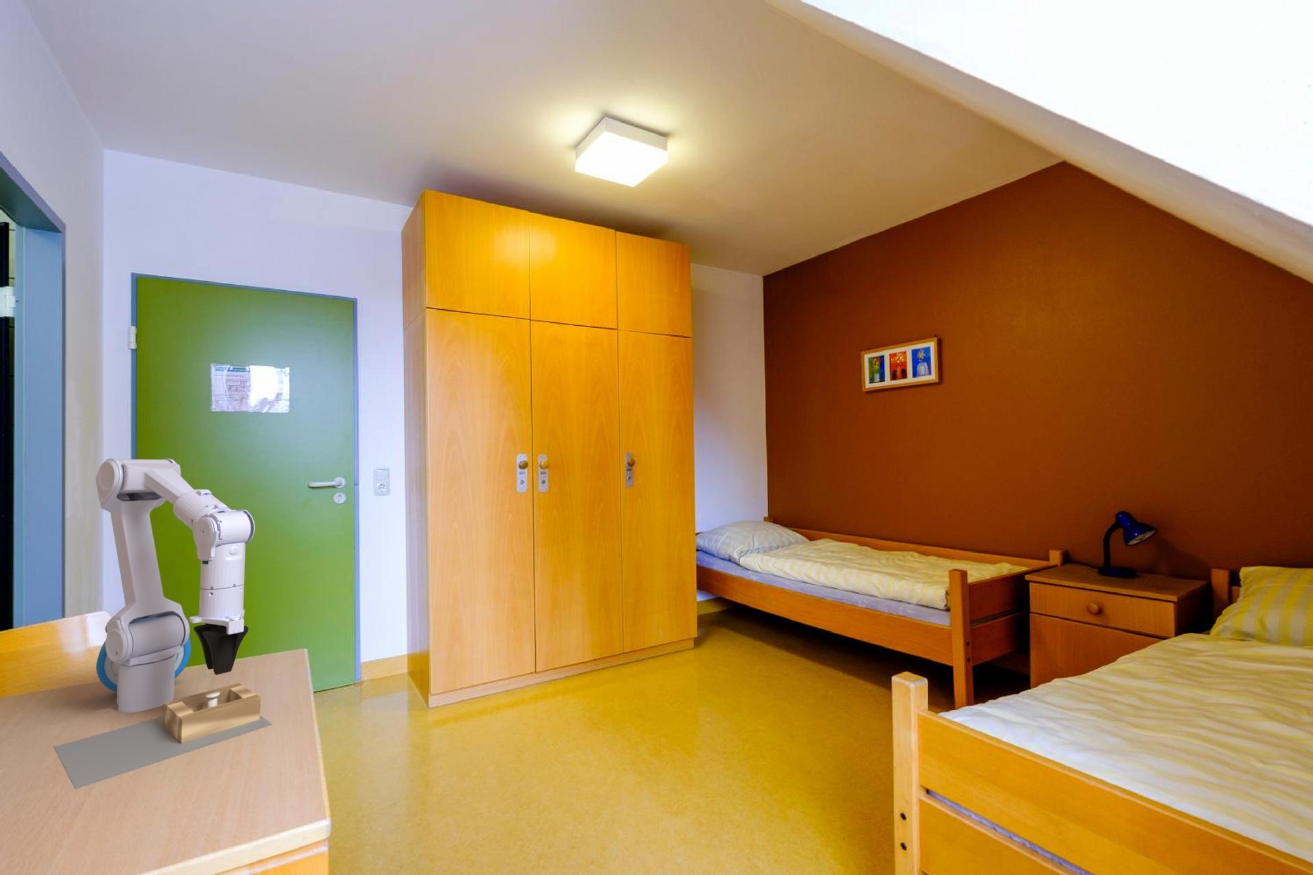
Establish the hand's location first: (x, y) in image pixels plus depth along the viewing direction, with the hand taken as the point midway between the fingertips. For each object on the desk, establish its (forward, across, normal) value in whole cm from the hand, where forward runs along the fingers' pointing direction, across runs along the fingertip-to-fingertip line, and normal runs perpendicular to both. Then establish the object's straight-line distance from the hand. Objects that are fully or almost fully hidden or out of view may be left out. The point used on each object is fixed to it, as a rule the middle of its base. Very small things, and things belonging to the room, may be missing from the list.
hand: (219, 670), depth 91 cm
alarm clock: (+10, -30, -3) cm, 32 cm away
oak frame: (+8, 0, -1) cm, 8 cm away
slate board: (+9, 0, -6) cm, 11 cm away
